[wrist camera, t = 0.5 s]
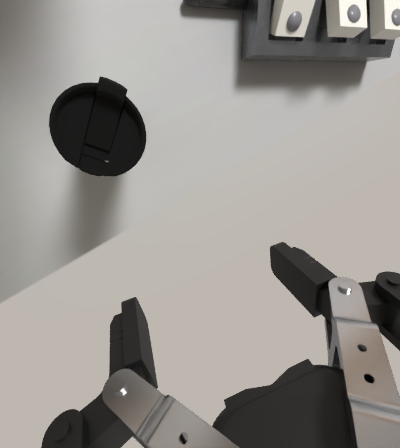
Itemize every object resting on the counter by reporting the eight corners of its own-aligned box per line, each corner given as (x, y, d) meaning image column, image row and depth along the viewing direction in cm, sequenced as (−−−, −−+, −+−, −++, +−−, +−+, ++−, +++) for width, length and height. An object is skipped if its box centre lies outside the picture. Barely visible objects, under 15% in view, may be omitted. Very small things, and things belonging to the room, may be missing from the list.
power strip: (177, -68, 27) (187, -93, 24) (390, -35, 36) (419, -50, 32) (184, 58, 33) (192, 53, 29) (367, 61, 41) (389, 57, 38)
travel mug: (137, 104, 33) (162, 103, 16) (123, 150, 35) (132, 192, 18) (88, 82, 31) (58, 53, 13) (77, 133, 32) (36, 163, 15)
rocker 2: (368, -25, 33) (384, -40, 31) (392, -22, 34) (409, -36, 32) (370, 38, 34) (386, 28, 32) (393, 39, 35) (409, 29, 33)
